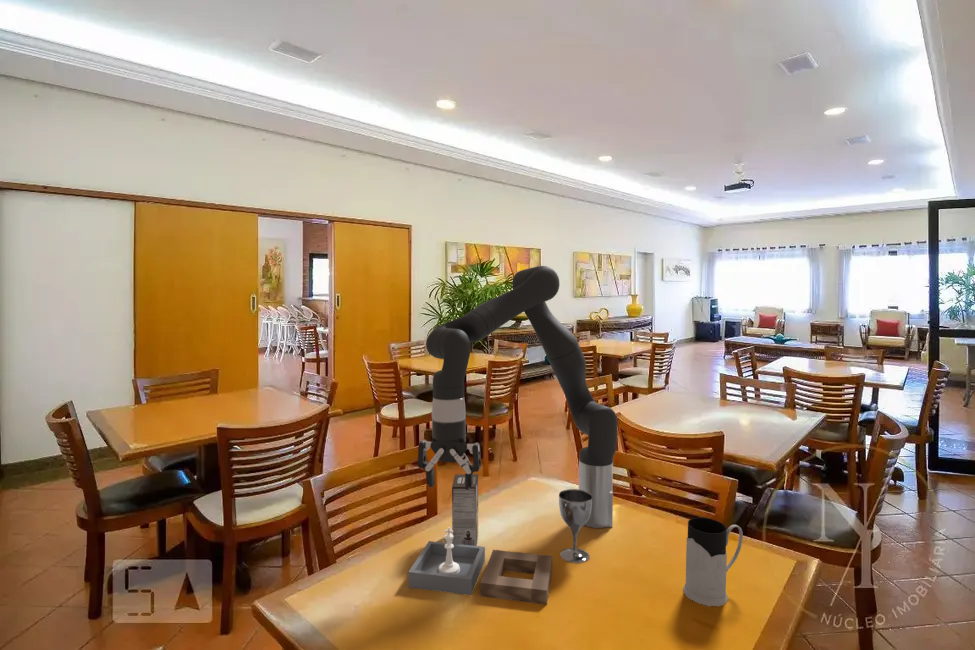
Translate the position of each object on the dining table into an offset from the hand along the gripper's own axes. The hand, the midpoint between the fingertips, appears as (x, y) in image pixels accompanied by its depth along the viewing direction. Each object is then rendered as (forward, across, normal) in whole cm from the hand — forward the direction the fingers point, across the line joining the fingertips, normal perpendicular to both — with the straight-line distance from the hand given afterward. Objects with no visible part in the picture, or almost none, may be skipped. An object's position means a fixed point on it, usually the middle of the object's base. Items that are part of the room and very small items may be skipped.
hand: (449, 487), depth 114 cm
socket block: (+20, -16, 0) cm, 26 cm away
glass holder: (+20, -58, -4) cm, 61 cm away
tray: (+20, 0, 0) cm, 20 cm away
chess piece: (+19, 0, 0) cm, 19 cm away
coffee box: (+20, 0, -16) cm, 26 cm away
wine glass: (+20, -28, -14) cm, 37 cm away
